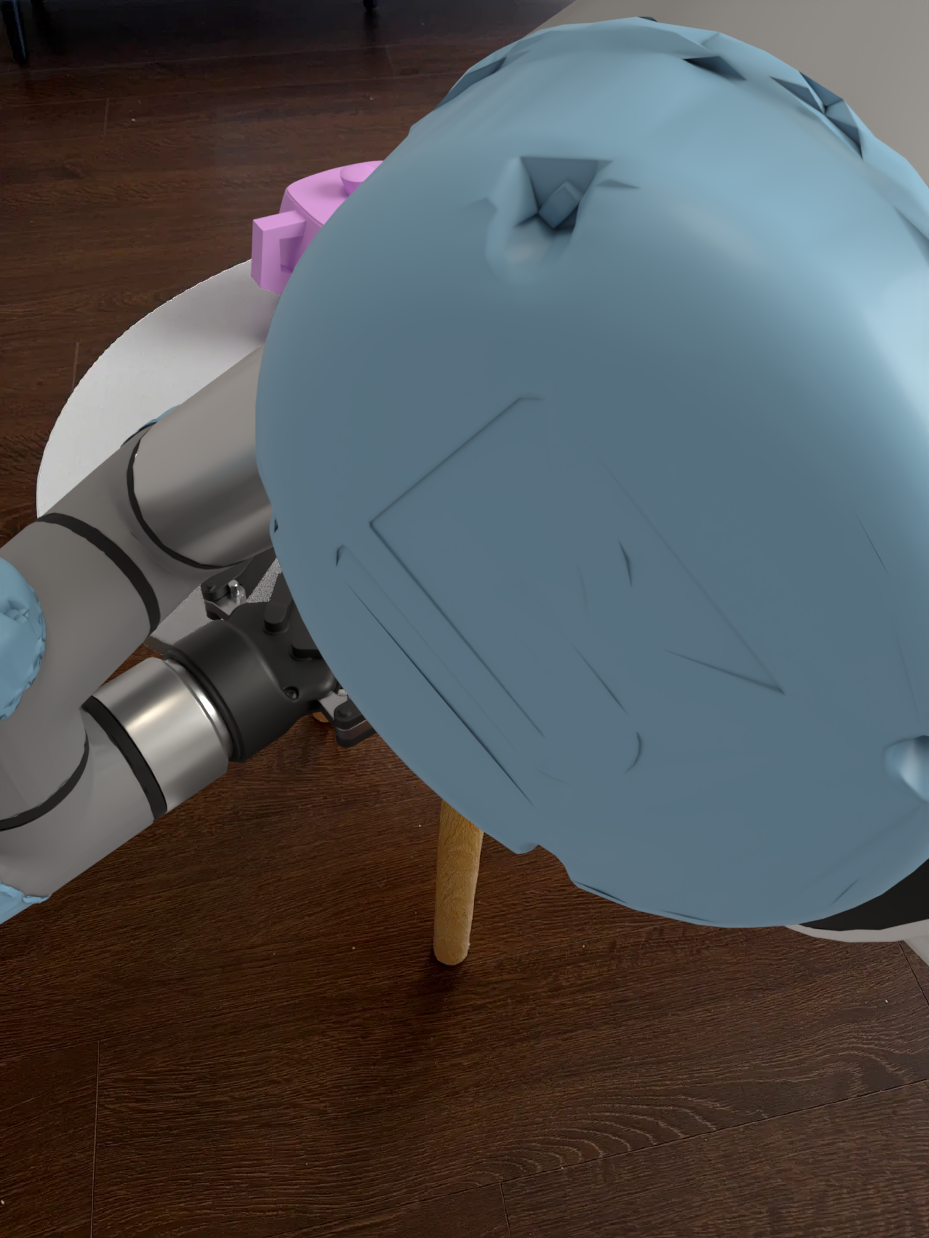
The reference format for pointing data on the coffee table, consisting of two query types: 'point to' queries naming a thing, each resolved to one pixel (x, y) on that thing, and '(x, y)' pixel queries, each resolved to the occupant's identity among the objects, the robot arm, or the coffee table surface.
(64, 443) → the coffee table surface
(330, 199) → the teapot
